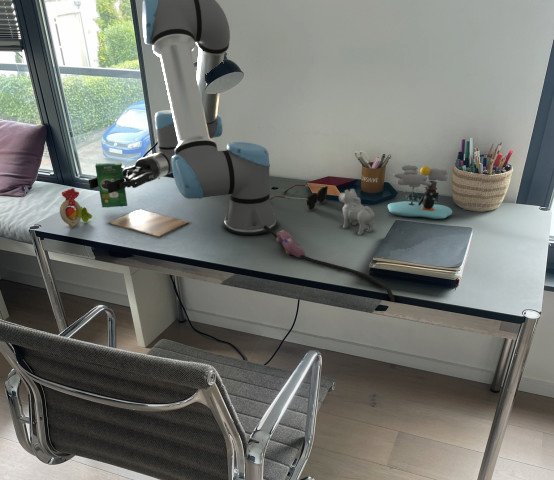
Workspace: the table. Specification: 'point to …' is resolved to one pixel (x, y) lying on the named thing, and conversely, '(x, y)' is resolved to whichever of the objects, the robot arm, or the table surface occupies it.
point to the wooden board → (149, 223)
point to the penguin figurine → (428, 205)
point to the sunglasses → (311, 196)
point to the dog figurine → (356, 211)
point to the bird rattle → (70, 213)
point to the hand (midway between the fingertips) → (99, 186)
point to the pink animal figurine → (289, 244)
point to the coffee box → (108, 175)
